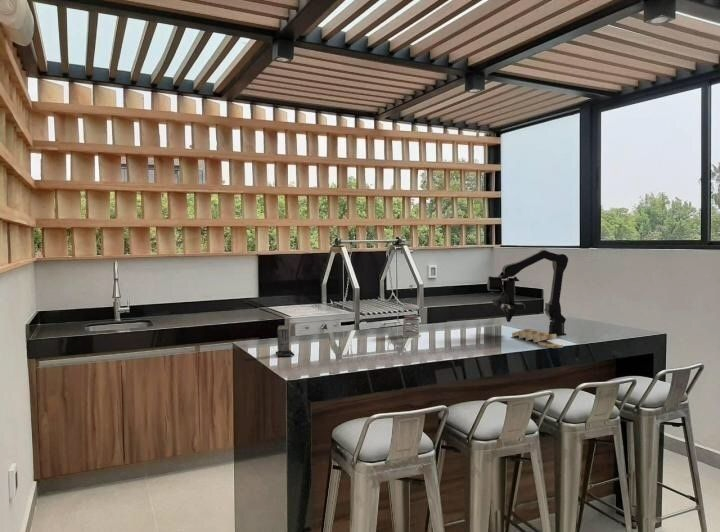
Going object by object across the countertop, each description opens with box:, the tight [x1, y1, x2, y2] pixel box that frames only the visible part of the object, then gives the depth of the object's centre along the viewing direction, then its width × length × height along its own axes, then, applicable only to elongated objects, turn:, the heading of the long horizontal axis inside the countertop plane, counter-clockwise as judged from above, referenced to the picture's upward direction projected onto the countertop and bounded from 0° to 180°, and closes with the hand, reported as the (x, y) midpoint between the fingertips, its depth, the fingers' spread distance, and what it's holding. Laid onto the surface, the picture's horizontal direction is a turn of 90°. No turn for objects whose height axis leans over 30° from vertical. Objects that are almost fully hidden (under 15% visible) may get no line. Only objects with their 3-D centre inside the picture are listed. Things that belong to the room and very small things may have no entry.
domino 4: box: [532, 334, 558, 344], centre depth 246 cm, size 5×2×10 cm
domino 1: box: [511, 328, 535, 338], centre depth 262 cm, size 5×2×10 cm
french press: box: [397, 284, 422, 339], centre depth 268 cm, size 10×12×25 cm
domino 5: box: [537, 340, 564, 349], centre depth 244 cm, size 5×2×10 cm
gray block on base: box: [274, 324, 295, 357], centre depth 225 cm, size 9×8×12 cm
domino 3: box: [525, 331, 549, 342], centre depth 252 cm, size 5×2×10 cm
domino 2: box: [518, 330, 542, 340], centre depth 257 cm, size 5×2×10 cm
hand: (508, 321), depth 273 cm, fingers closed
